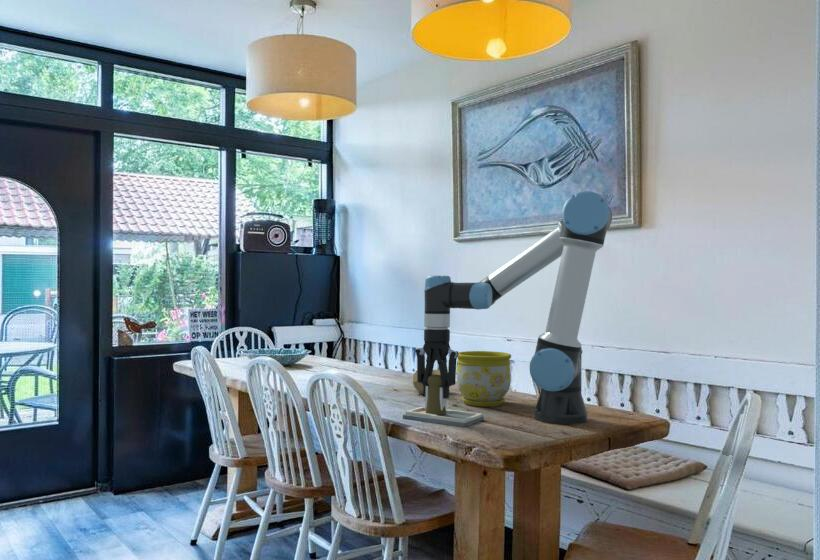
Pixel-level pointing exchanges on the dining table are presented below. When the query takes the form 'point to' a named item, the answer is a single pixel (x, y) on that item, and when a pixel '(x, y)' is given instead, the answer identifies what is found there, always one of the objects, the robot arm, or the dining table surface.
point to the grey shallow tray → (445, 417)
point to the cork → (434, 396)
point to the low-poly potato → (419, 385)
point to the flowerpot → (483, 377)
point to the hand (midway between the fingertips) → (435, 408)
